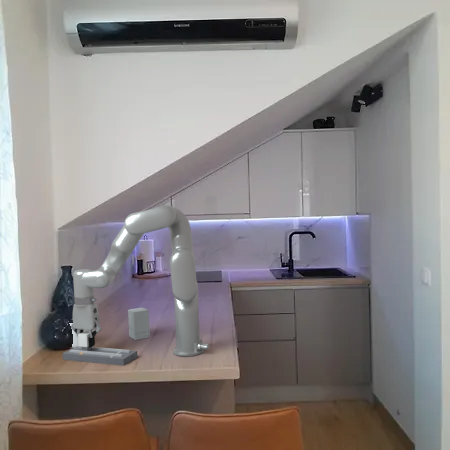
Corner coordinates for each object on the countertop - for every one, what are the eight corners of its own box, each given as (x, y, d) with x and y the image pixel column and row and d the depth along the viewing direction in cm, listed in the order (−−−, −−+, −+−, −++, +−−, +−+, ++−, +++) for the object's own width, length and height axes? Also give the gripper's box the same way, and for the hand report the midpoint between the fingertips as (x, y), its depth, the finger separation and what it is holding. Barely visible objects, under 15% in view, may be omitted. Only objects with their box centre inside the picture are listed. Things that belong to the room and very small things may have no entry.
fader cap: (95, 348, 192) (94, 331, 191) (87, 352, 187) (86, 335, 187) (86, 347, 193) (85, 330, 193) (79, 351, 188) (78, 334, 188)
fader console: (137, 357, 188) (137, 348, 188) (123, 365, 178) (123, 357, 178) (78, 351, 198) (78, 343, 198) (62, 359, 188) (62, 351, 188)
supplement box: (150, 337, 215) (149, 309, 214) (134, 340, 211) (133, 312, 210) (144, 333, 221) (142, 307, 221) (128, 336, 217) (127, 309, 217)
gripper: (107, 299, 190) (110, 344, 191) (73, 297, 195) (75, 341, 196) (96, 303, 183) (98, 350, 184) (60, 301, 188) (63, 347, 189)
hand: (86, 345), depth 190 cm, fingers closed on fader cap, 4 cm apart
